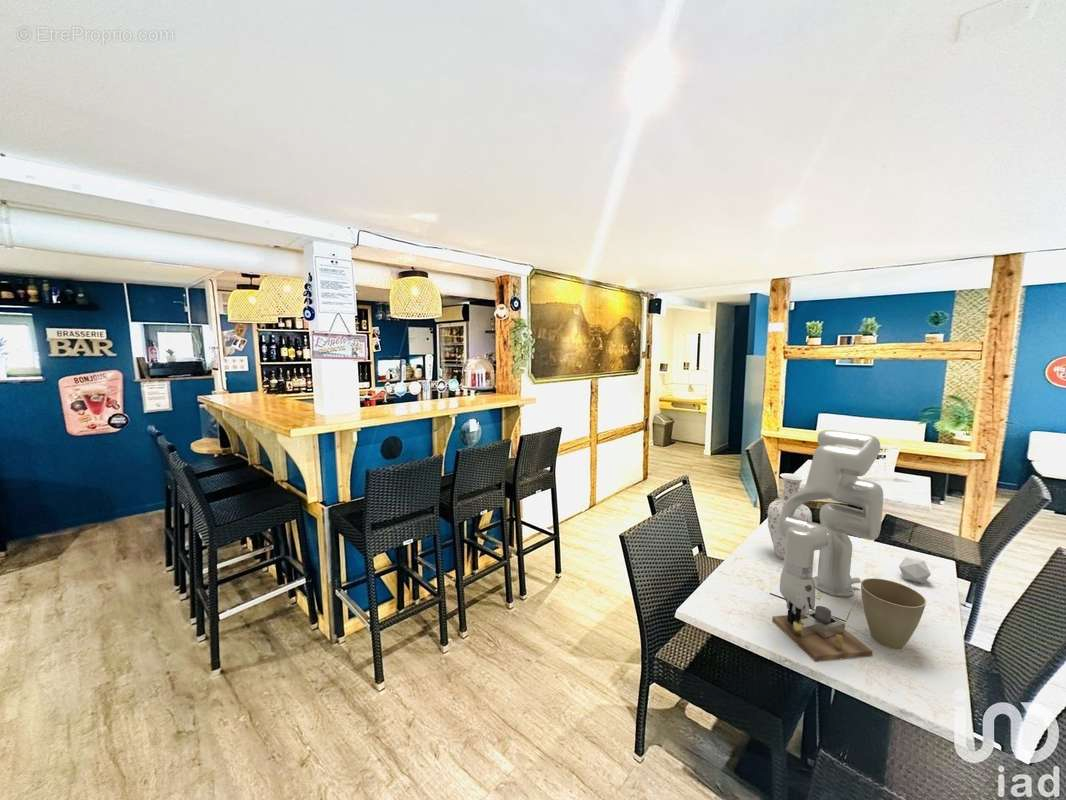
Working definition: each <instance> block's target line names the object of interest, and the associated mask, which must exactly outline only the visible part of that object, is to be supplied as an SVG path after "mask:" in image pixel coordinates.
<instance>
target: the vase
mask: <svg viewBox="0 0 1066 800" xmlns="http://www.w3.org/2000/svg"><path fill="white" fill-rule="evenodd" d="M779 477H781V478H782V480H783V487H784V490H783V494H782V495H781V497H780V498H779V499H776V500H774V501H773V500H772V502H770V504H769V505H768V509H767V527H768V531H769V534H770V538H771V542H772V546H773V549H774V555H775V557H777V558H779V559H782V560H783V561H784V554H785V541H786V538H784V537H782V536H781V535H780V533H779V530H778V525H779V520H780V516H781V513H782V509H783V506H784V504H785V503H786V501H787V500H788V499H789V498H790V497H791V496H792V495H793V494H795V493H796V492H798V491H799V489H800V486H801V485H800V484H801V483H802V481H804V480H805V479H806V478H805V477H804V476H802V475H799V474H796V473H785V472H784V473H781V474H779ZM812 516H813V515H812V511H811V510H810V508H809V507H808V506H807V505H805V503H803V504H801V505H800V506H799V507H798V508H797V509H796V510H795V512H794V515H793V517H796V518H800V519H804V520H807V521H810V522H813V517H812Z"/></svg>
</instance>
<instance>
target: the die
mask: <svg viewBox="0 0 1066 800" xmlns="http://www.w3.org/2000/svg"><path fill="white" fill-rule="evenodd" d="M898 567H899V570H900V573H901V574H902V577H903V579H904V581H905V580H906V581H909V582H913V583H917V584H925V582H926V581H927V580H928V579H929V577H930V576H931V571H930V569H929V567H928V565H927V563H926V562H925V560H922V559H918V558H913V557H910V556H905V557H904V559H903V560H902V562H900V564H899V566H898Z"/></svg>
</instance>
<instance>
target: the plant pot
mask: <svg viewBox="0 0 1066 800" xmlns="http://www.w3.org/2000/svg"><path fill="white" fill-rule="evenodd" d="M860 591H861V600H862V601H861V602H862V608H863V611H864V615H865V619H866V623H867V626H868V629H869V632H870V635H871V637H872V639H873V640H874V641H875V642H876V643H878V644H880V645H882V646H883V647H887V648H888V649H889V648H890V649H893V650H901V649H903V648H904V647H905V646H906V644H907V643H908V642H909V640H910V639H911V637H912V636H913V634H914V633H915V631H916V629H917V628H918V626H919V623H920V621H921V619H922V617H923V614H924V610H925V607H926V604H927V599H926V598H925V597H924V595H922V594H921V593H919V591H916V589H913V588H912V587H909V586H907V585H904V584H902V583H899V582H897V581H893V580H889V579H885V578H884V579H883V578H873V577H872V578H865V579H862V580H861V582H860Z"/></svg>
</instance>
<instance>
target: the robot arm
mask: <svg viewBox="0 0 1066 800" xmlns="http://www.w3.org/2000/svg"><path fill="white" fill-rule="evenodd" d="M816 439H817V444H818V447H817V448H816V449H815V450H814V452H813V456H812V460H811V465H810V468H809V471H808V476H807V479H806V482H805V486H804V487H803V488H801V489H800V490H798V492H796V493H795V494H793V495H792V496H791V497H790V498H789V499H788V500H787V501H786V503H785V504H784V506H783V509H782V513H781V516H780V520H779V525H778V530H779V533H780V535H781V536H782V537H784V538H786V541H785V554H784V560H783V567H782V570H781V573H780V579H779V580H780V581H779V593H780V594H781V595H782V597H783V598H784V599H785V602H786V608H787V609H788V610H787V615H788V616H787V621H788V622H789V623H790V624H791V625H793V622H794V621H795V620H800V619H801V613H802V614H804V615H809V614H810V613H809V611H810V609H811V610H815V608H816V589H817V590H819V591H821V592H824V593H826V594H828V595H832V596H836V597H840V598H849V597H852V596H853V595H854V592H855V591H854V588H853V586H852V585H854V584H861V581H862V580H861V579H860V578H859V577H852V576H851V564H852V555H853V543H852V541H851V538H850V537H849V535H850V536H854V537H855V538H856V537H857V538H860V539H864V540H868V541H874V540H876V539H878V537H880V533H881V530H882V519H883V517H882V516H883V508H884V490H883V488H882V486H881V485H880V484H879V483H877V482H875V481H871V480H865V479H861V478H859V477H863V476H865V475H866V474H867V473H868V472H869V470H871V467H873V466H872V465H873V464H874V463H875V461H876V459H877V458H878V456H879V454H880V451H881V441H880V439H878V438H877V437H876V436H873V435H870V434H865V433H864V434H863V433H857V432H856V433H855V432H850V431H849V432H848V431H841V430H831V429H828V430H822V431H820V432H819V433H818V434H817V438H816ZM828 499H830V500H832V501H835V502H838V503H841V504H838V503H833V502H832V503H825V504H824V505H822V506H821V507H820V510H819V522H820V523H817V522H813V521H812V522H810V521H807V520H804V519H800V518H796V517H793V515H794V512H795V510H796V509H797V508H798V507H799V506H800V505H801V504H805V503H808V502H811V501H812V502H814V501H819V500H828ZM842 504H843V505H842ZM845 504H846V505H847V506H846V505H845ZM848 505H849V506H848ZM851 506H854V507H857V508H854V507H851ZM860 508H862V509H860ZM815 551H819V554H818V555H819V556H818V563H817V564H818V567H817V568H818V569H817V575H816V576H814V577H813V568H814V558H815V557H814V555H815Z"/></svg>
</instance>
